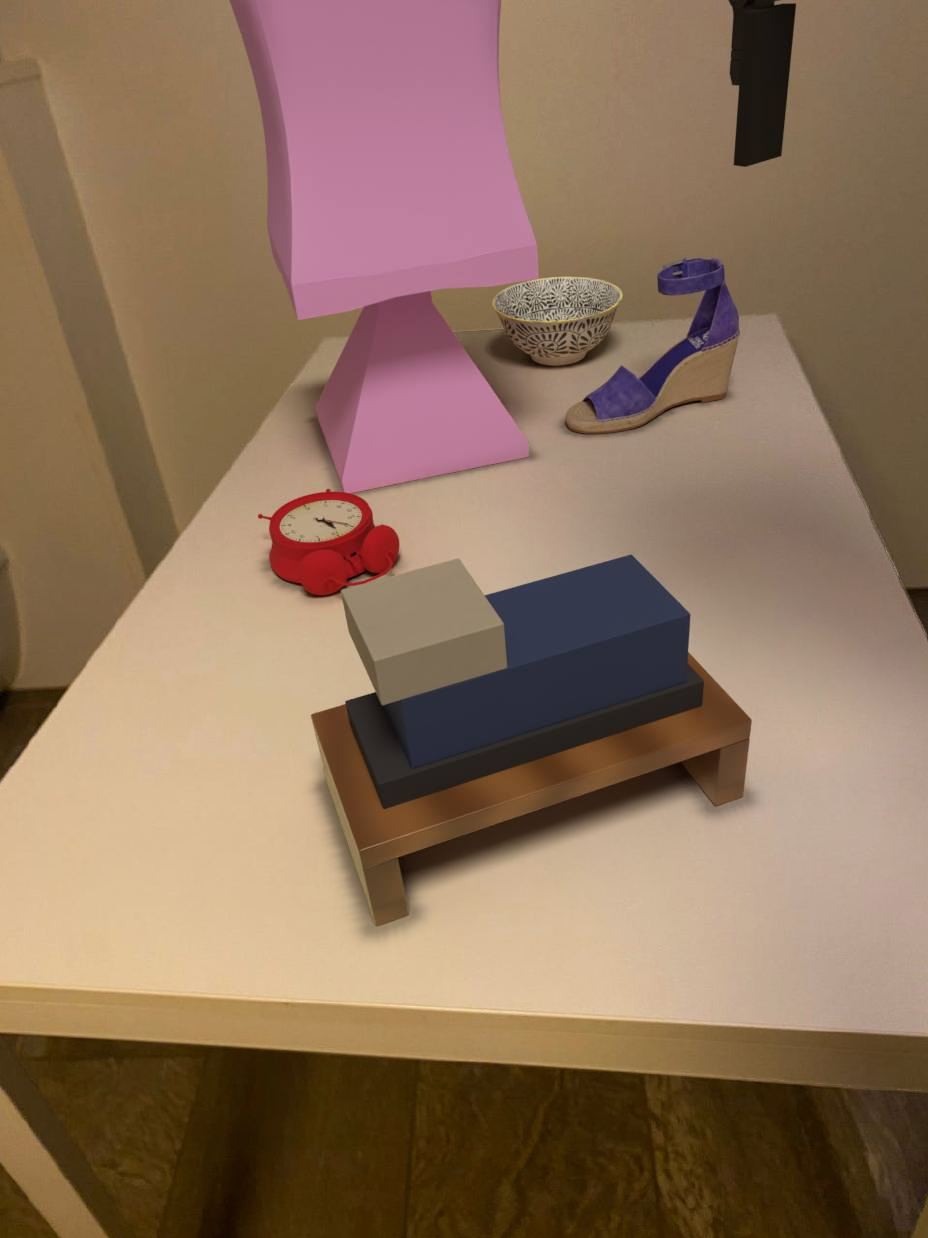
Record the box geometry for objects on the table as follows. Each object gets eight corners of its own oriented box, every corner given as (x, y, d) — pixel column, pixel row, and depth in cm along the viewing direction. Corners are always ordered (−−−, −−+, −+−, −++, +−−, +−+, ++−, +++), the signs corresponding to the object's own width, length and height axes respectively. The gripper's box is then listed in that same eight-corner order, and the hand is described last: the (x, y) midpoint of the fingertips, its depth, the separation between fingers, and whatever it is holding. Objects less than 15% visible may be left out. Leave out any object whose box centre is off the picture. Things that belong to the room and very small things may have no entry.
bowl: (628, 375, 115) (629, 313, 110) (496, 385, 116) (491, 323, 112) (615, 329, 128) (615, 271, 123) (496, 338, 129) (492, 281, 124)
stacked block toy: (641, 637, 63) (645, 504, 58) (702, 706, 58) (713, 566, 52) (349, 725, 59) (321, 591, 53) (383, 809, 53) (355, 670, 47)
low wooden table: (649, 685, 69) (652, 612, 66) (743, 797, 60) (752, 719, 56) (328, 786, 64) (310, 713, 60) (375, 927, 55) (358, 851, 51)
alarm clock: (338, 476, 92) (413, 501, 80) (355, 536, 95) (430, 569, 83) (238, 513, 88) (301, 545, 76) (259, 575, 91) (323, 616, 78)
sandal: (555, 409, 109) (550, 275, 100) (721, 382, 111) (732, 248, 102) (574, 439, 102) (571, 298, 94) (751, 410, 104) (765, 269, 95)
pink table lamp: (486, 382, 117) (451, -72, 90) (546, 459, 99) (524, -77, 73) (305, 416, 113) (212, -45, 87) (333, 503, 96) (228, -44, 69)
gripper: (1552, -708, 24) (1230, 194, 37) (754, -411, 41) (720, 136, 53) (1449, -778, 21) (1133, 240, 33) (627, -424, 38) (622, 163, 50)
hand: (878, 177), depth 43 cm, fingers open, 13 cm apart
